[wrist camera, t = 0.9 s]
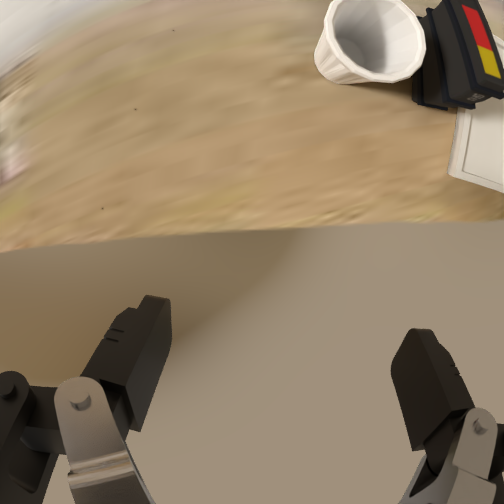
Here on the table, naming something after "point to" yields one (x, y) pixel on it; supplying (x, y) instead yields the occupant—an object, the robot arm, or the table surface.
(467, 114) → the cradle
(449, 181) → the table surface
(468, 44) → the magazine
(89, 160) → the table surface
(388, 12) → the cup
